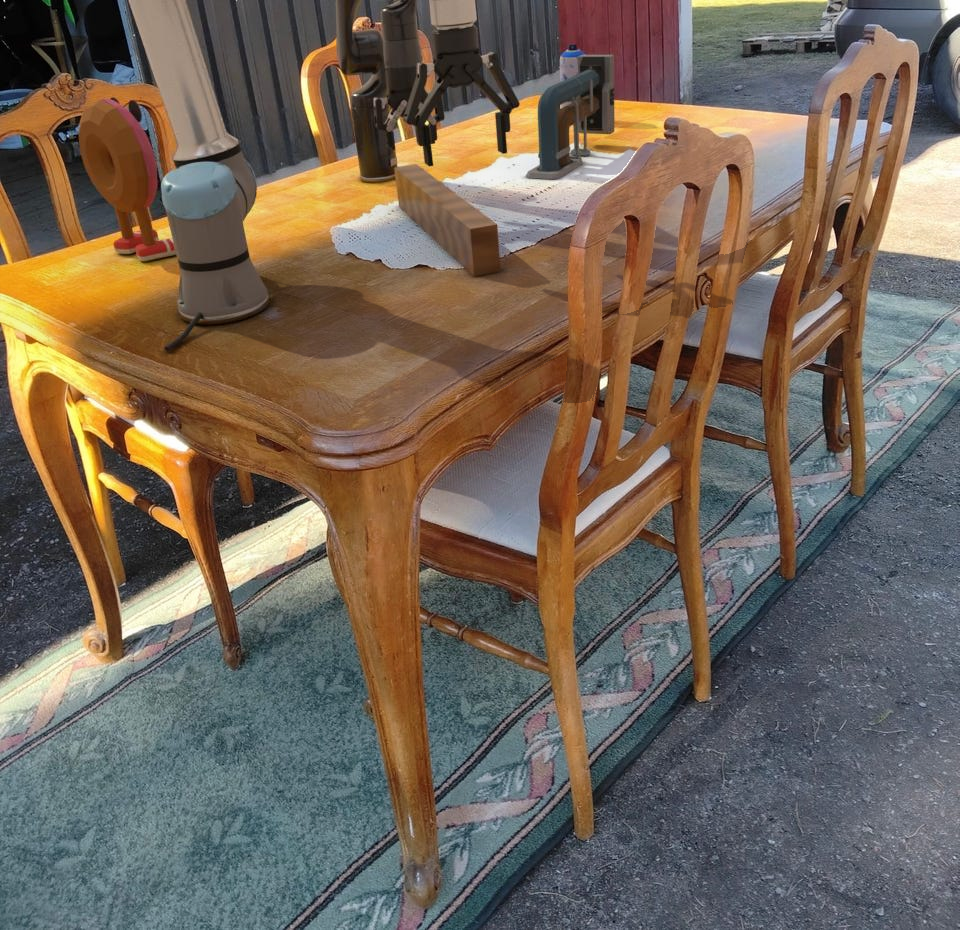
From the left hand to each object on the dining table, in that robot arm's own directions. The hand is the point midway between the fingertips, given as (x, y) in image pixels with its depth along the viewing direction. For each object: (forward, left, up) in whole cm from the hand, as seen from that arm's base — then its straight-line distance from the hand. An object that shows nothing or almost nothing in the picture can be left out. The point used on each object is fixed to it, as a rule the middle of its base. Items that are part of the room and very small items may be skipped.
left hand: (466, 158), depth 169 cm
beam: (+14, +11, -19) cm, 26 cm away
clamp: (+74, -2, -19) cm, 76 cm away
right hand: (+28, +21, -5) cm, 36 cm away
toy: (0, +70, -19) cm, 72 cm away
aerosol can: (+120, +7, -19) cm, 122 cm away
